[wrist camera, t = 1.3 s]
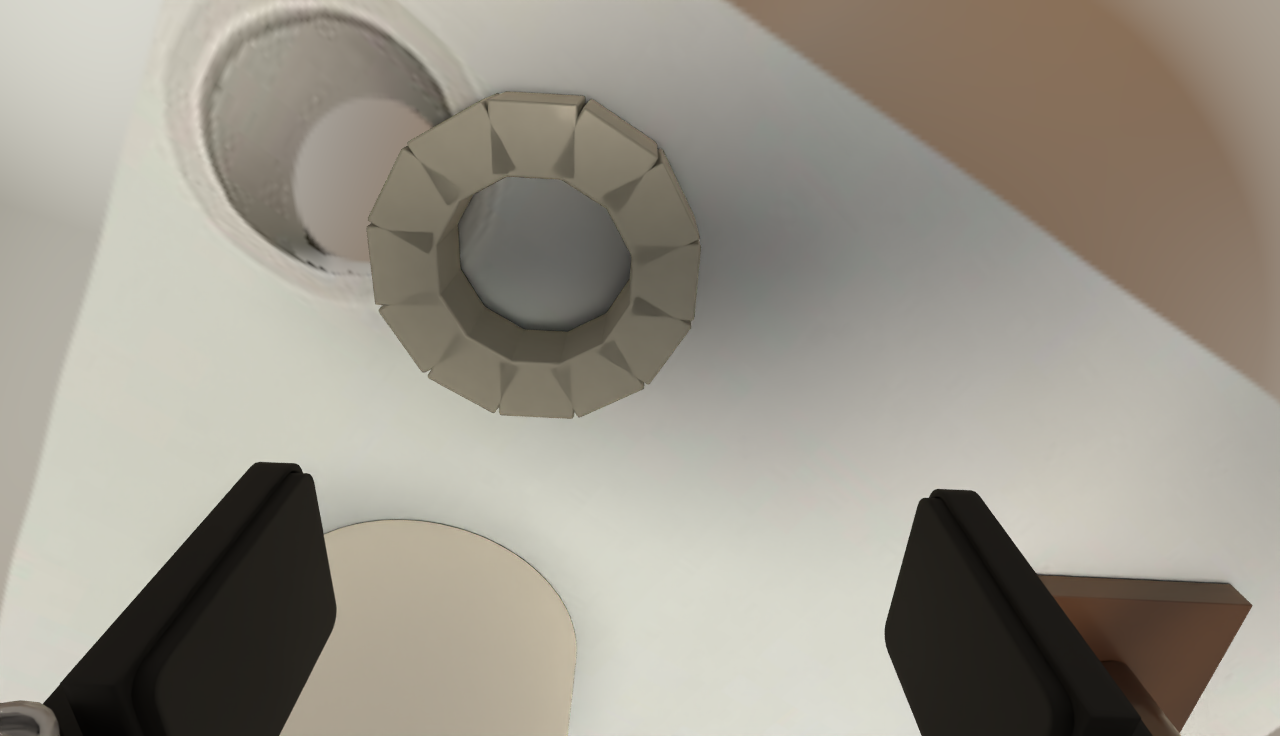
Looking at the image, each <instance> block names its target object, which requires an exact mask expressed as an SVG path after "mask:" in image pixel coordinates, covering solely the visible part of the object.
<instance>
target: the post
mask: <svg viewBox="0 0 1280 736" xmlns="http://www.w3.org/2000/svg"><path fill="white" fill-rule="evenodd" d="M1038 577H1039V578H1040V579H1041V581H1042V582H1043V584H1044V585H1045V586H1046V588H1047V589H1048V590H1049V592H1050V593H1051V595H1052V596H1053V597H1054V599H1055V600H1056V601H1057V603H1058V604H1059V606H1060V607H1061V608H1062V610H1063V611H1064V612H1065V614H1066V615H1067V616H1068V618H1069V619H1070V621H1071V622H1072V623H1073V625H1074V626H1075V627H1076V629H1077V630H1078V632H1079V633H1080V634H1081V636H1082V637H1083V638H1084V640H1085V641H1086V643H1087V644H1088V645H1089V647H1090V648H1091V649H1092V651H1093V652H1094V653H1095V655H1096V656H1097V658H1098V659H1099V660H1100V662H1101V663H1102V664H1103V666H1104V667H1105V669H1106V670H1107V671H1108V673H1109V674H1110V675H1111V677H1112V678H1113V680H1114V681H1115V682H1116V684H1117V685H1118V686H1119V688H1120V689H1121V690H1122V692H1123V693H1124V695H1125V696H1126V697H1127V699H1128V700H1129V701H1130V703H1131V704H1132V706H1133V707H1134V708H1135V710H1136V711H1137V712H1138V714H1139V715H1140V717H1141V720H1142V721H1143V723H1144V724H1145V725H1146V727H1147V728H1148V729H1149V731H1150V732H1151V734H1152V735H1153V736H1181V735H1180V732H1181V730H1182V728H1183V726H1184V725H1185V723H1186V721H1187V719H1188V718H1189V716H1190V714H1191V712H1192V711H1193V709H1194V707H1195V705H1196V704H1197V702H1198V700H1199V698H1200V697H1201V695H1202V693H1203V691H1204V690H1205V688H1206V686H1207V684H1208V683H1209V681H1210V679H1211V677H1212V676H1213V674H1214V672H1215V670H1216V669H1217V667H1218V665H1219V663H1220V662H1221V660H1222V658H1223V656H1224V655H1225V653H1226V651H1227V649H1228V648H1229V646H1230V644H1231V642H1232V641H1233V639H1234V637H1235V635H1236V634H1237V632H1238V630H1239V628H1240V627H1241V625H1242V623H1243V621H1244V620H1245V618H1246V616H1247V614H1248V613H1249V611H1250V609H1251V607H1252V604H1251V603H1250V602H1249V601H1248V600H1247V599H1246V598H1245V597H1243V596H1242V595H1241V594H1240V593H1239V592H1238V591H1237V590H1236V589H1235V588H1234V587H1233V586H1232V585H1230V584H1215V583H1193V582H1172V581H1150V580H1129V579H1108V578H1086V577H1065V576H1044V575H1038Z"/></svg>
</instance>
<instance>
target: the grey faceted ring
mask: <svg viewBox="0 0 1280 736" xmlns="http://www.w3.org/2000/svg"><path fill="white" fill-rule="evenodd" d="M407 144H408V146H406V147H404V148H403V149H401V151H400V153H399V155H398V157H397V160H396V162H395V164H394V166H393V168H392V170H391V172H390V174H389V176H388V178H387V180H386V182H385V184H384V187H383V188H382V190H381V193H380V194H379V197H378V199H377V201H376V203H375V205H374V207H373V209H372V211H371V213H370V215H369V217H368V221H370V222H371V224H370V225H368V226H367V237H368V246H369V254H370V263H371V272H372V280H373V289H374V297H375V304H377V305H383V306H382V307H381V308H380V309H379V312H380V314H381V315H382V317H383V318H384V319H385V321H386V322H387V324H388V325H389V327H390V328H391V329H392V331H393V332H394V334H395V335H396V336H397V338H398V339H399V341H400V342H401V343H402V345H403V346H404V348H405V349H406V350H407V352H408V353H409V355H410V356H411V357H412V359H413V360H414V362H415V363H416V364H417V366H418V367H419V369H420V370H421V371H422V372H426V371H429V370H431V371H430V373H429V374H428V378H429V379H431V380H433V381H435V382H437V383H438V384H440V385H442V386H444V387H446V388H448V389H449V390H451V391H453V392H455V393H457V394H459V395H461V396H462V397H464V398H466V399H468V400H470V401H472V402H473V403H475V404H477V405H479V406H481V407H483V408H485V409H486V410H488V411H490V412H492V413H494V412H496V410H497V409H498V407H499V413H500V415H507V416H527V417H547V418H567V419H572V418H573V417H574V412H575V413H576V415H577V416H578V417H582V416H584V415H586V414H589V413H591V412H593V411H595V410H598V409H600V408H602V407H604V406H606V405H609V404H611V403H613V402H615V401H618V400H620V399H622V398H624V397H627V396H629V395H631V394H633V393H636V392H638V391H640V390H642V389H644V383H646V384H648V385H649V384H650V383H651V381H652V380H653V379H654V377H655V376H656V375H657V373H658V372H659V371H660V369H661V368H662V367H663V365H664V364H665V363H666V361H667V360H668V358H669V357H670V356H671V354H672V353H673V352H674V350H675V349H676V348H677V346H678V345H679V344H680V342H681V341H682V340H683V338H684V337H685V335H686V334H687V333H688V331H689V330H690V329H691V321H692V320H693V319H694V316H695V306H696V295H697V284H698V273H699V263H700V252H701V245H700V241H699V239H700V236H699V233H698V229H697V225H696V221H695V217H694V214H693V212H692V210H691V208H690V206H689V204H688V202H687V200H686V198H685V196H684V194H683V191H682V189H681V187H680V185H679V183H678V181H677V179H676V177H675V175H674V173H673V171H672V168H671V166H670V164H669V162H668V160H667V158H666V156H665V154H664V152H663V150H662V149H658V150H657V143H656V142H655V141H653V140H652V139H650V138H649V137H647V136H646V135H645V134H643V133H642V132H640V131H639V130H637V129H636V128H634V127H633V126H631V125H630V124H628V123H627V122H625V121H624V120H623V119H621V118H620V117H618V116H617V115H615V114H614V113H612V112H611V111H609V110H608V109H606V108H605V107H603V106H602V105H601V104H599V103H598V102H596V101H595V100H593V99H590V100H589V101H588V102H587V104H586V105H585V97H584V96H579V95H562V94H544V93H527V92H510V91H506V92H504V93H502V94H499V93H497V94H494V95H492V96H490V97H488V98H485V99H483V100H481V101H479V102H477V103H475V104H473V105H472V106H470V107H468V108H466V109H465V110H463V111H461V112H459V113H458V114H456V115H454V116H452V117H451V118H449V119H447V120H445V121H444V122H442V123H440V124H438V125H437V126H435V127H433V128H431V129H430V130H428V131H426V132H425V133H423V134H421V135H419V136H417V137H416V138H414V139H412V140H410V141H409V142H408V143H407ZM505 177H523V178H541V179H559V180H562V181H564V182H566V183H567V184H569V185H570V186H572V187H573V188H575V189H576V190H578V191H580V192H581V193H583V194H584V195H586V196H587V197H589V198H590V199H592V200H594V201H595V202H597V203H598V204H600V205H601V206H603V207H604V208H606V209H607V211H608V213H609V215H610V216H611V218H612V220H613V222H614V224H615V226H616V228H617V230H618V232H619V233H620V235H621V237H622V239H623V241H624V243H625V245H626V247H627V249H628V250H629V252H630V254H631V269H630V279H629V280H628V282H627V283H626V285H625V286H624V288H623V289H622V291H621V292H620V294H619V295H618V297H617V298H616V300H615V301H614V303H613V304H612V306H611V307H610V309H609V310H608V311H607V313H606V314H603V315H601V316H599V317H597V318H595V319H593V320H591V321H589V322H587V323H585V324H583V325H580V326H578V327H576V328H574V329H572V330H570V331H568V332H564V331H545V330H526V329H523V328H521V327H519V326H517V325H516V324H514V323H512V322H510V321H509V320H507V319H505V318H503V317H502V316H500V315H498V314H497V313H495V312H493V311H491V310H490V309H488V308H486V307H485V306H484V305H483V303H482V302H481V300H480V299H479V297H478V296H477V294H476V292H475V291H474V289H473V288H472V286H471V285H470V283H469V282H468V280H467V278H466V277H465V275H464V274H463V272H462V271H461V268H460V251H459V235H458V222H459V221H460V219H461V217H462V215H463V213H464V211H465V210H466V208H467V206H468V204H469V202H470V200H471V199H472V197H473V195H474V194H475V193H477V192H479V191H481V190H483V189H485V188H486V187H488V186H490V185H492V184H494V183H496V182H498V181H499V180H501V179H503V178H505Z"/></svg>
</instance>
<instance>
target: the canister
mask: <svg viewBox="0 0 1280 736" xmlns="http://www.w3.org/2000/svg"><path fill="white" fill-rule="evenodd" d="M324 539H325V545H326V550H327V556H328V561H329V567H330V572H331V578H332V583H333V589H334V594H335V600H336V607H337V613H336V620H335V624H334V628H333V630H332V633H331V634H330V636H329V638H328V640H327V642H326V644H325V646H324V648H323V650H322V652H321V654H320V656H319V658H318V660H317V662H316V664H315V666H314V668H313V670H312V672H311V674H310V676H309V678H308V680H307V682H306V684H305V686H304V688H303V690H302V692H301V694H300V696H299V698H298V700H297V702H296V704H295V706H294V708H293V710H292V712H291V714H290V716H289V718H288V720H287V722H286V724H285V725H284V727H283V729H282V731H281V733H280V735H279V736H568V728H569V719H570V710H571V701H572V692H573V683H574V674H575V665H576V653H577V648H576V637H575V632H574V628H573V625H572V621H571V619H570V616H569V614H568V612H567V610H566V608H565V606H564V604H563V602H562V601H561V599H560V597H559V596H558V594H557V593H556V592H555V590H554V589H553V588H552V587H551V585H550V584H549V583H548V582H547V581H546V580H545V579H544V578H543V577H542V576H541V575H540V574H539V573H538V572H537V571H536V570H535V569H534V568H533V567H531V566H530V565H529V564H528V563H527V562H525V561H524V560H523V559H521V558H520V557H518V556H517V555H515V554H514V553H512V552H511V551H509V550H507V549H506V548H504V547H502V546H500V545H498V544H496V543H494V542H492V541H490V540H488V539H486V538H483V537H481V536H479V535H476V534H473V533H471V532H468V531H465V530H461V529H458V528H454V527H450V526H446V525H441V524H436V523H430V522H423V521H412V520H382V521H372V522H365V523H360V524H355V525H351V526H347V527H343V528H340V529H337V530H334V531H332V532H329V533H327V534H324Z"/></svg>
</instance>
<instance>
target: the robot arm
mask: <svg viewBox="0 0 1280 736" xmlns="http://www.w3.org/2000/svg"><path fill="white" fill-rule="evenodd" d="M336 613H337V607H336V600H335V594H334V589H333V583H332V578H331V572H330V567H329V561H328V556H327V550H326V545H325V539H324V534H323V528H322V523H321V517H320V512H319V506H318V501H317V495H316V490H315V485H314V480H313V477H312V476H311V475H310V474H307V473H303V472H302V469H301V468H300V466H299V465H297V464H295V463H271V462H258V463H255V464H254V465H252V466H251V467H250V468H249V469H248V470H247V472H246V473H245V474H244V475H243V476H242V477H241V478H240V480H239V481H238V482H237V483H236V484H235V485H234V486H233V487H232V489H231V490H230V491H229V492H228V493H227V494H226V495H225V497H224V498H223V499H222V500H221V501H220V502H219V503H218V505H217V506H216V507H215V508H214V509H213V510H212V511H211V512H210V514H209V515H208V516H207V517H206V518H205V519H204V520H203V522H202V523H201V524H200V525H199V526H198V527H197V528H196V530H195V531H194V532H193V533H192V534H191V535H190V536H189V537H188V539H187V540H186V541H185V542H184V543H183V544H182V545H181V547H180V548H179V549H178V550H177V551H176V552H175V553H174V555H173V556H172V557H171V558H170V559H169V560H168V561H167V562H166V564H165V565H164V566H163V567H162V568H161V569H160V570H159V572H158V573H157V574H156V575H155V576H154V577H153V578H152V580H151V581H150V582H149V583H148V584H147V585H146V586H145V587H144V589H143V590H142V591H141V592H140V593H139V594H138V595H137V597H136V598H135V599H134V600H133V601H132V602H131V603H130V605H129V606H128V607H127V608H126V609H125V610H124V611H123V612H122V614H121V615H120V616H119V617H118V618H117V619H116V620H115V622H114V623H113V624H112V625H111V626H110V627H109V628H108V630H107V631H106V632H105V633H104V634H103V635H102V636H101V637H100V639H99V640H98V641H97V642H96V643H95V644H94V645H93V647H92V648H91V649H90V650H89V651H88V652H87V653H86V655H85V656H84V657H83V658H82V659H81V660H80V661H79V663H78V664H77V665H76V666H75V667H74V668H73V669H72V670H71V672H70V673H69V674H68V675H67V676H66V677H65V678H64V680H63V681H62V682H61V683H60V685H59V686H58V687H57V688H56V690H55V691H54V692H53V693H52V694H51V695H50V696H49V698H48V699H47V700H46V701H45V702H44V703H43V704H41V703H39V702H30V701H21V700H20V701H13V702H6V703H0V736H279V735H280V733H281V731H282V729H283V727H284V725H285V724H286V722H287V720H288V718H289V716H290V714H291V712H292V710H293V708H294V706H295V704H296V702H297V700H298V698H299V696H300V694H301V692H302V690H303V688H304V686H305V684H306V682H307V680H308V678H309V676H310V674H311V672H312V670H313V668H314V666H315V664H316V662H317V660H318V658H319V656H320V654H321V652H322V650H323V648H324V646H325V644H326V642H327V640H328V638H329V636H330V634H331V633H332V630H333V628H334V624H335V620H336ZM885 642H886V647H887V650H888V653H889V655H890V658H891V660H892V663H893V665H894V668H895V670H896V673H897V675H898V678H899V680H900V683H901V685H902V688H903V690H904V693H905V695H906V698H907V700H908V703H909V705H910V708H911V710H912V713H913V715H914V718H915V720H916V723H917V725H918V728H919V730H920V733H921V735H922V736H1153V735H1152V734H1151V732H1150V731H1149V729H1148V728H1147V727H1146V725H1145V724H1144V723H1143V721H1142V720H1141V717H1140V715H1139V714H1138V712H1137V711H1136V710H1135V708H1134V707H1133V706H1132V704H1131V703H1130V701H1129V700H1128V699H1127V697H1126V696H1125V695H1124V693H1123V692H1122V690H1121V689H1120V688H1119V686H1118V685H1117V684H1116V682H1115V681H1114V680H1113V678H1112V677H1111V675H1110V674H1109V673H1108V671H1107V670H1106V669H1105V667H1104V666H1103V664H1102V663H1101V662H1100V660H1099V659H1098V658H1097V656H1096V655H1095V653H1094V652H1093V651H1092V649H1091V648H1090V647H1089V645H1088V644H1087V643H1086V641H1085V640H1084V638H1083V637H1082V636H1081V634H1080V633H1079V632H1078V630H1077V629H1076V627H1075V626H1074V625H1073V623H1072V622H1071V621H1070V619H1069V618H1068V616H1067V615H1066V614H1065V612H1064V611H1063V610H1062V608H1061V607H1060V606H1059V604H1058V603H1057V601H1056V600H1055V599H1054V597H1053V596H1052V595H1051V593H1050V592H1049V590H1048V589H1047V588H1046V586H1045V585H1044V584H1043V582H1042V581H1041V579H1040V578H1039V577H1038V575H1037V574H1036V573H1035V571H1034V570H1033V569H1032V567H1031V566H1030V564H1029V563H1028V562H1027V560H1026V559H1025V558H1024V556H1023V555H1022V553H1021V552H1020V551H1019V549H1018V548H1017V547H1016V545H1015V544H1014V542H1013V541H1012V540H1011V538H1010V537H1009V536H1008V534H1007V533H1006V532H1005V530H1004V529H1003V527H1002V526H1001V525H1000V523H999V522H998V521H997V519H996V518H995V516H994V515H993V514H992V512H991V511H990V510H989V508H988V507H987V505H986V504H985V503H984V501H983V500H982V499H981V497H980V496H979V495H978V494H977V493H976V492H974V491H971V490H947V489H936V490H934V491H933V492H932V493H931V494H930V497H929V498H923V499H921V500H920V502H919V504H918V506H917V510H916V514H915V518H914V521H913V525H912V529H911V532H910V536H909V540H908V543H907V547H906V551H905V554H904V558H903V562H902V565H901V569H900V573H899V576H898V580H897V584H896V587H895V591H894V595H893V598H892V602H891V606H890V609H889V613H888V617H887V621H886V625H885Z"/></svg>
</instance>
